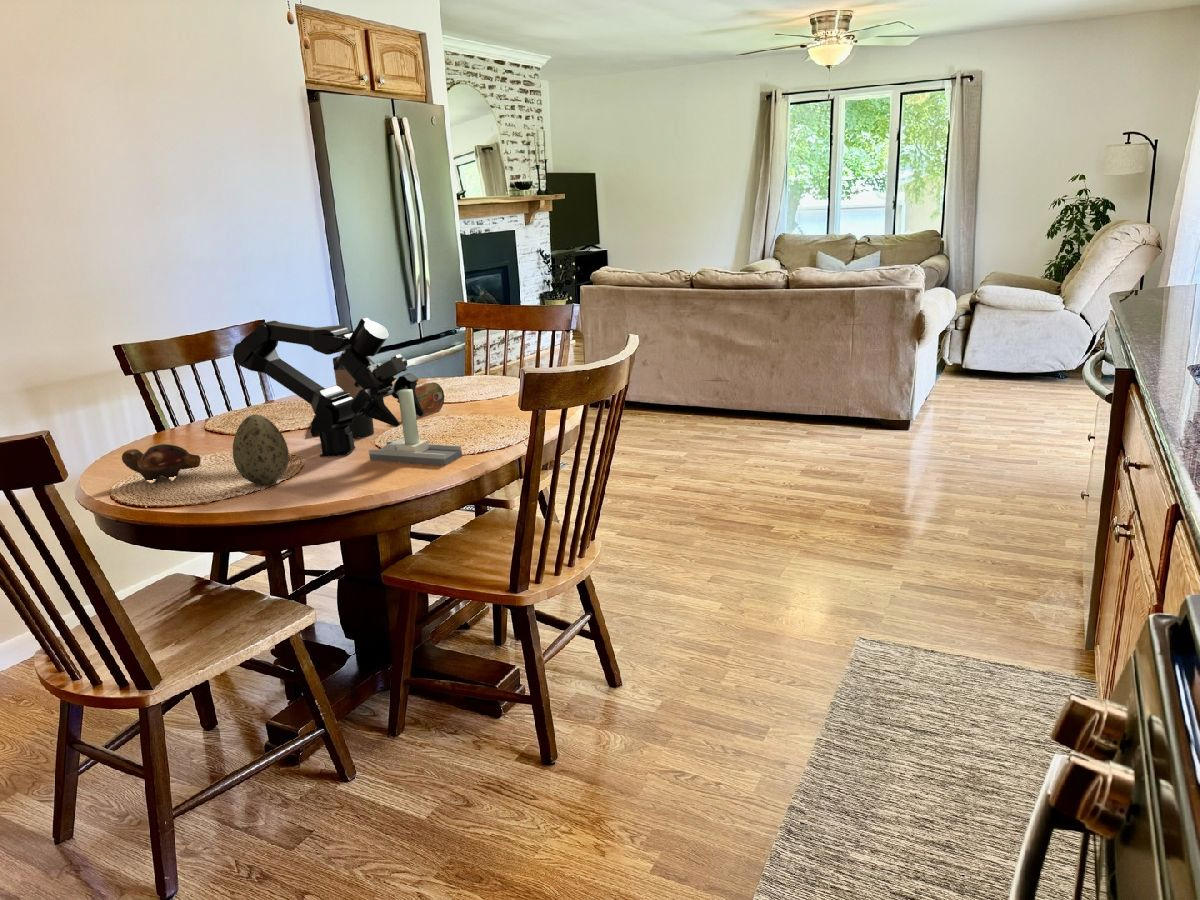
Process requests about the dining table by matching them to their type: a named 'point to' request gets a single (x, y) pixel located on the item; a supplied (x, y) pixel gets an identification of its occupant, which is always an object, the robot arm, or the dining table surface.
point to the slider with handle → (410, 424)
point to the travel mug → (345, 381)
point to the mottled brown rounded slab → (429, 398)
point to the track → (417, 454)
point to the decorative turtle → (160, 461)
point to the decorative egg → (260, 450)
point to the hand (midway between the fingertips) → (410, 420)
